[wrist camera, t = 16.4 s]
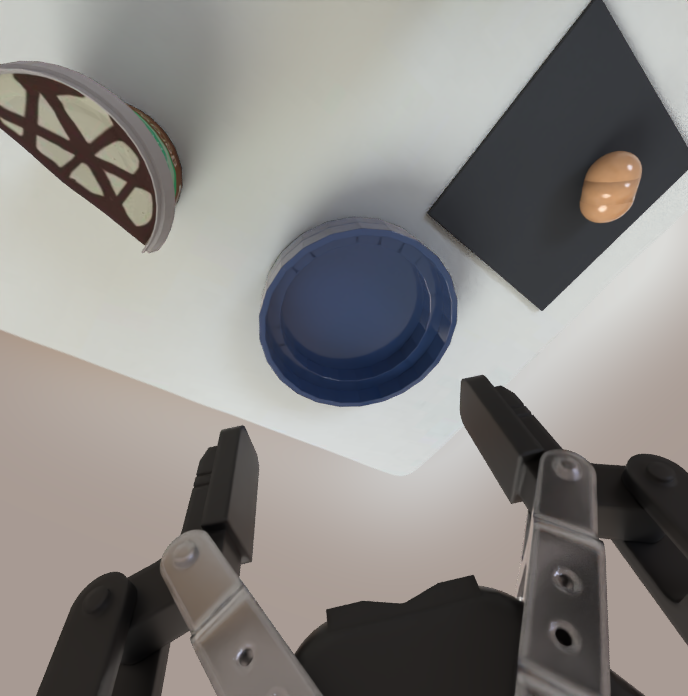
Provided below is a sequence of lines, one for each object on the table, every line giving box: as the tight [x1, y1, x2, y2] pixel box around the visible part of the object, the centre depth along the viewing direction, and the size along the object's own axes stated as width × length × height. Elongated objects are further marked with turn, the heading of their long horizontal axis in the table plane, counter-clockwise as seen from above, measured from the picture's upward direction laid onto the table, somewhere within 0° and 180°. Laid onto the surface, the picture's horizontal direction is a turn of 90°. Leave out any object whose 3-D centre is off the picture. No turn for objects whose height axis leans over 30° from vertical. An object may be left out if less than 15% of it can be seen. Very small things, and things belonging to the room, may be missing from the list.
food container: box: [0, 61, 182, 253], centre depth 25 cm, size 12×6×10 cm, turn 40°
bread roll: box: [579, 151, 642, 223], centre depth 34 cm, size 6×4×4 cm
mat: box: [428, 0, 688, 311], centre depth 35 cm, size 20×20×1 cm
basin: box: [259, 217, 457, 407], centre depth 38 cm, size 20×20×5 cm
